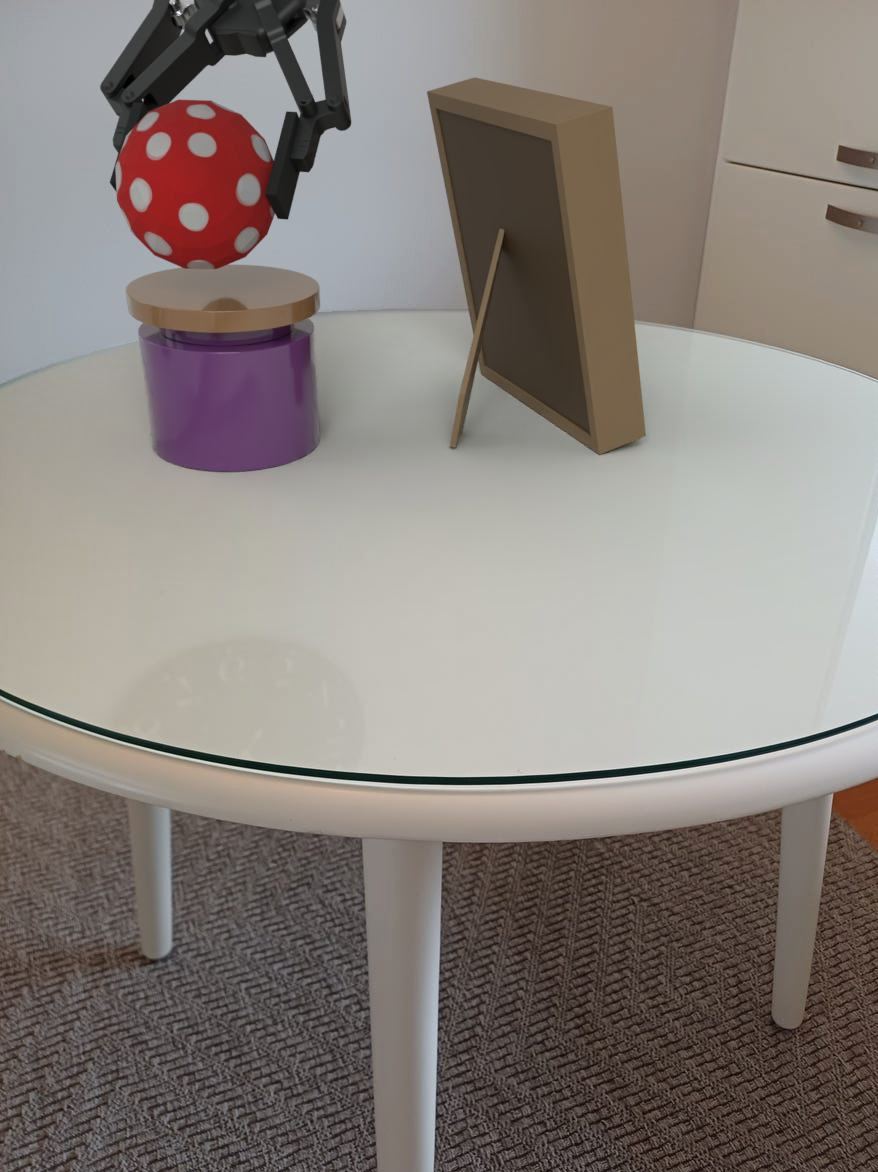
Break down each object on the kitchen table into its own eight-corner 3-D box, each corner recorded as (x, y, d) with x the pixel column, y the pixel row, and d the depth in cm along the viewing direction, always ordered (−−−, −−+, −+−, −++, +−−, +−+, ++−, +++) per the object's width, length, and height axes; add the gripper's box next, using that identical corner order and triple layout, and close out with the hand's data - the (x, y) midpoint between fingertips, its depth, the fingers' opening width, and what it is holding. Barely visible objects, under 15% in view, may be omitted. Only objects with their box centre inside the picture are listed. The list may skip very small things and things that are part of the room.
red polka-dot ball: (197, 108, 86) (156, 41, 71) (321, 196, 88) (306, 149, 73) (121, 233, 87) (65, 193, 72) (244, 318, 89) (214, 295, 74)
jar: (112, 462, 84) (88, 301, 78) (193, 403, 96) (178, 258, 90) (288, 483, 82) (278, 318, 76) (349, 420, 94) (344, 272, 88)
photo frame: (521, 369, 107) (535, 76, 94) (644, 447, 90) (682, 105, 78) (375, 386, 101) (369, 78, 89) (478, 473, 85) (489, 109, 72)
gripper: (431, -13, 84) (372, 246, 79) (145, -24, 88) (72, 222, 83) (411, -102, 77) (345, 177, 72) (101, -110, 81) (18, 154, 76)
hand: (199, 201), depth 77 cm, fingers closed on red polka-dot ball, 11 cm apart
